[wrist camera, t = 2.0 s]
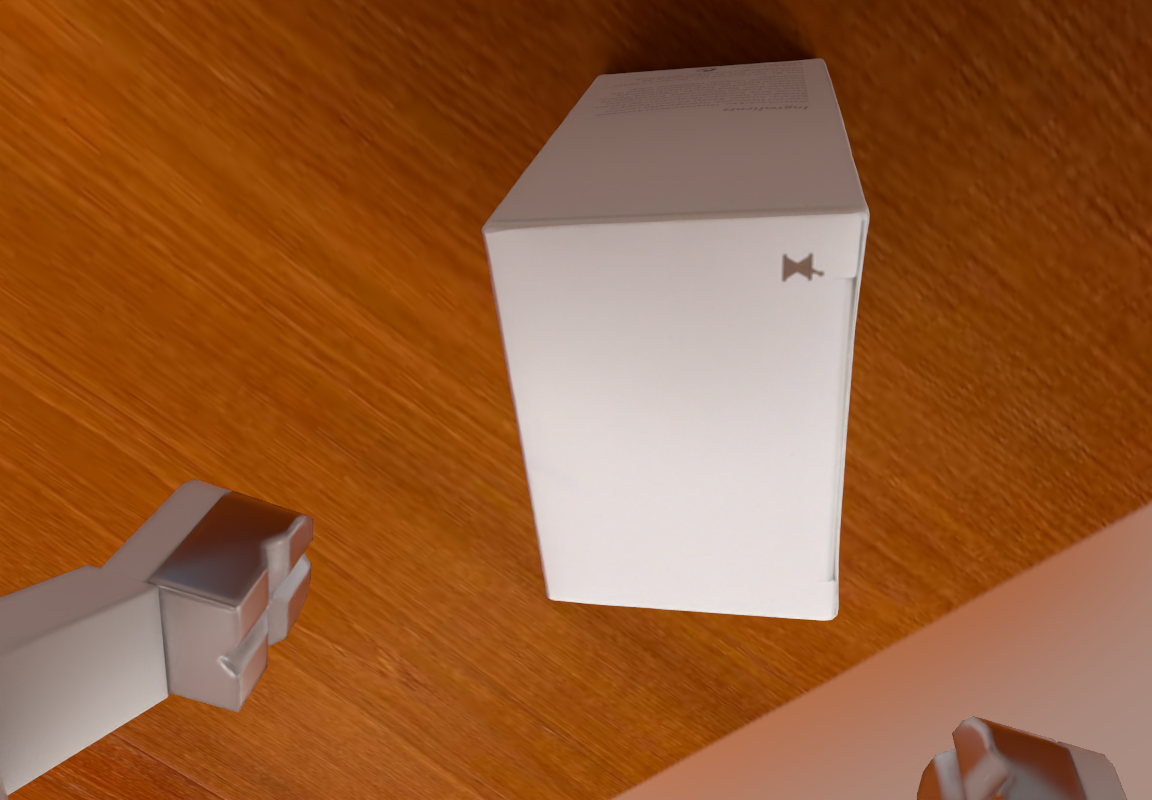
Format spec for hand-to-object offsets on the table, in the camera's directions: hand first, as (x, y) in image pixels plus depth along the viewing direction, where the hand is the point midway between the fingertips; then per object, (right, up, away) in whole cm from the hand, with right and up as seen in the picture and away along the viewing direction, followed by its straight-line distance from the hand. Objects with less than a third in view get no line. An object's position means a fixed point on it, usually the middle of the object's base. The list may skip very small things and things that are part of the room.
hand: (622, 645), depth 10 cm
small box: (+3, +8, +12) cm, 15 cm away
